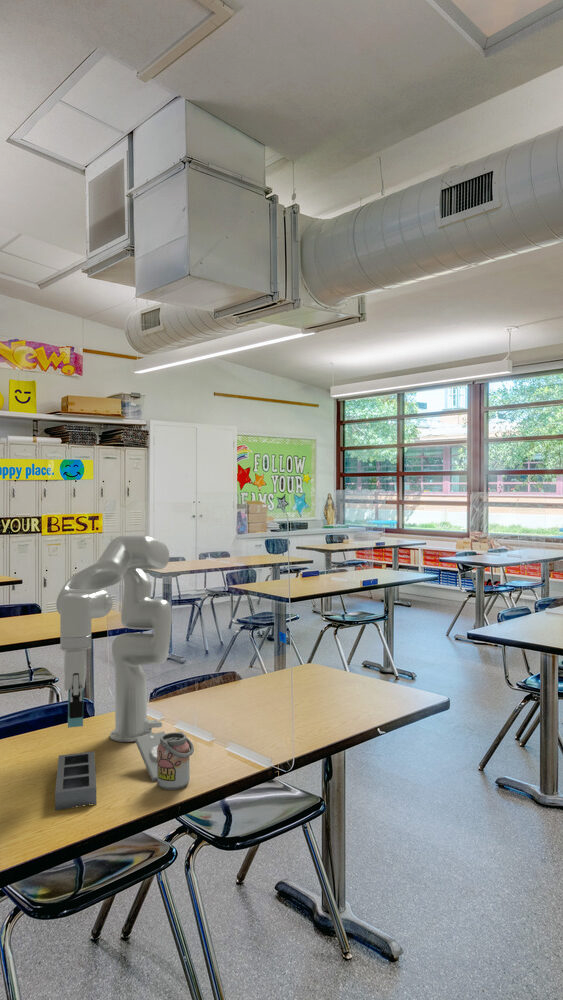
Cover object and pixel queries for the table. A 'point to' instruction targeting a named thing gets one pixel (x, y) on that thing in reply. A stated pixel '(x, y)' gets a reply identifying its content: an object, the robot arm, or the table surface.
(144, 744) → the light switch
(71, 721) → the square peg
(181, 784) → the beverage can
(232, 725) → the table surface
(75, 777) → the hole rail
